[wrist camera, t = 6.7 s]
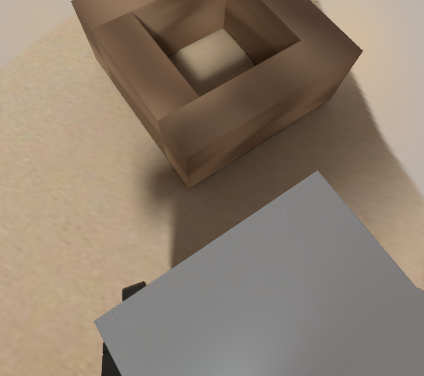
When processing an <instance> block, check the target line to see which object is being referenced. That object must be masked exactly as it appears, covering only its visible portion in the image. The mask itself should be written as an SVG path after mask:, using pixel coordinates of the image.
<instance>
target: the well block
mask: <svg viewBox="0 0 424 376" xmlns="http://www.w3.org/2000/svg"><path fill="white" fill-rule="evenodd" d="M71 2H72V5H73V7H74V9H75V11H76V14H77V16H78V18H79V20H80V23H81V25H82V27H83V30H84V32H85V34H86V36H87V39H88V41H89V43H90V45H91V48H92V50H93V52H94V54H95V57H96V59H97V60H98V62H99V63H100V65H101V66H102V67H103V69H104V70H105V72H106V73H107V75H108V76H109V77H110V79H111V80H112V82H113V83H114V84H115V86H116V87H117V89H118V90H119V92H120V93H121V94H122V96H123V97H124V99H125V100H126V101H127V103H128V104H129V106H130V107H131V108H132V110H133V111H134V113H135V114H136V116H137V117H138V118H139V120H140V121H141V123H142V124H143V125H144V127H145V128H146V130H147V131H148V132H149V134H150V135H151V137H152V138H153V140H154V141H155V142H156V144H157V145H158V147H159V148H160V149H161V151H162V152H163V154H164V155H165V156H166V158H167V159H168V161H169V162H170V164H171V165H172V166H173V168H174V169H175V171H176V172H177V173H178V175H179V176H180V178H181V179H182V181H183V182H184V183H185V185H186V186H187V188H188V189H190V188H191V187H193V186H194V185H196V184H198V183H199V182H201V181H202V180H204V179H205V178H207V177H209V176H210V175H212V174H213V173H215V172H216V171H218V170H220V169H221V168H223V167H224V166H226V165H227V164H229V163H231V162H232V161H234V160H235V159H237V158H239V157H240V156H242V155H243V154H245V153H246V152H248V151H250V150H251V149H253V148H254V147H256V146H257V145H259V144H261V143H262V142H264V141H265V140H267V139H268V138H270V137H272V136H273V135H275V134H276V133H278V132H279V131H281V130H283V129H284V128H286V127H287V126H289V125H290V124H292V123H294V122H295V121H297V120H298V119H300V118H301V117H303V116H305V115H306V114H308V113H309V112H311V111H312V110H314V109H316V108H317V107H319V106H320V105H322V104H323V103H325V102H327V101H328V100H330V98H331V97H332V96H333V94H334V93H335V91H336V90H337V88H338V87H339V85H340V84H341V82H342V81H343V79H344V78H345V77H346V75H347V74H348V72H349V71H350V69H351V68H352V66H353V65H354V63H355V62H356V60H357V59H358V57H359V56H360V55H361V53H362V50H361V49H360V48H359V47H358V46H357V45H356V44H355V43H354V42H353V41H352V40H351V39H350V38H349V37H348V36H347V35H346V34H345V33H344V32H343V31H342V30H340V29H339V28H338V27H337V26H336V25H335V24H334V23H333V22H332V21H331V20H330V19H329V18H328V17H327V16H326V15H325V14H324V13H323V12H322V11H321V10H320V9H318V8H317V7H316V6H315V5H314V4H313V3H312V2H311V1H310V0H73V1H71ZM223 27H224V29H225V30H226V31H227V32H228V33H229V34H230V35H231V36H232V37H233V39H234V40H235V41H236V42H237V43H238V44H239V45H240V46H241V47H242V49H243V50H244V51H245V52H246V53H247V54H248V55H249V56H250V57H251V59H252V60H253V61H254V62H255V63H256V64H257V65H256V66H255V67H253V68H251V69H249V70H247V71H246V72H244V73H242V74H240V75H239V76H237V77H235V78H233V79H231V80H230V81H228V82H226V83H224V84H222V85H221V86H219V87H217V88H215V89H213V90H212V91H210V92H208V93H206V94H205V95H203V96H201V97H199V96H198V95H197V94H196V92H195V91H194V90H193V89H192V87H191V86H190V85H189V84H188V82H187V81H186V80H185V79H184V77H183V76H182V75H181V74H180V72H179V71H178V70H177V69H176V67H175V66H174V65H173V63H172V62H171V61H170V60H169V58H168V57H167V56H168V55H170V54H172V53H174V52H176V51H178V50H180V49H182V48H184V47H186V46H188V45H190V44H192V43H194V42H195V41H197V40H199V39H201V38H203V37H205V36H207V35H209V34H211V33H213V32H215V31H217V30H219V29H221V28H223Z"/></svg>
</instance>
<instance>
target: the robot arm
mask: <svg viewBox="0 0 424 376" xmlns="http://www.w3.org/2000/svg"><path fill="white" fill-rule="evenodd" d="M145 286H147V285H146V283H145V282H144V281H143V282H140V283H137V284H134V285H132V286H129V287H126V288H123V290H122V302H123V301H125V300H126V299H128V298H129V297H131V296H132V295H134V294H135V293H136V292H138V291H139V290H141V289H142V288H144V287H145ZM416 288H417V287H416ZM417 289H418V290H419V291H420V292H421V294H422V295H423V296H424V291H423V290H421V289H419V288H417ZM101 376H122V375H121V373H120V371H119V369H118V367H117V365H116V364H115V362H114V360H113V358H112V356H111V354H110V352H109V350H108V348H107V346H106V344H105V342H103V356H102V375H101Z"/></svg>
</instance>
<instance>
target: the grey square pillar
mask: <svg viewBox="0 0 424 376" xmlns="http://www.w3.org/2000/svg"><path fill="white" fill-rule="evenodd" d="M94 323H95V324H96V326H97V328H98V330H99V332H100V334H101V336H102V338H103V340H104V342H105V344H106V346H107V348H108V350H109V352H110V354H111V356H112V358H113V360H114V362H115V364H116V365H117V367H118V369H119V371H120V373H121V375H122V376H424V296H423V295H422V294H421V292H420V291H419V290H418V289H417V288H416V286H415V285H414V284H413V283H412V282H411V280H410V279H409V278H408V277H407V276H406V275H405V273H404V272H403V271H402V270H401V269H400V267H399V266H398V265H397V264H396V263H395V261H394V260H393V259H392V258H391V257H390V256H389V254H388V253H387V252H386V251H385V250H384V248H383V247H382V246H381V245H380V244H379V242H378V241H377V240H376V239H375V238H374V237H373V235H372V234H371V233H370V232H369V231H368V229H367V228H366V227H365V226H364V225H363V223H362V222H361V221H360V220H359V219H358V218H357V216H356V215H355V214H354V213H353V212H352V210H351V209H350V208H349V207H348V206H347V204H346V203H345V202H344V201H343V200H342V199H341V197H340V196H339V195H338V194H337V193H336V191H335V190H334V189H333V188H332V187H331V185H330V184H329V183H328V182H327V181H326V180H325V178H324V177H323V176H322V175H321V174H320V172H319V171H318V170H317V171H316V172H314V173H313V174H311V175H310V176H308V177H307V178H305V179H304V180H302V181H301V182H299V183H298V184H297V185H295V186H294V187H292V188H291V189H289V190H288V191H286V192H285V193H283V194H282V195H280V196H279V197H277V198H276V199H274V200H273V201H271V202H270V203H268V204H267V205H265V206H264V207H262V208H261V209H259V210H258V211H257V212H255V213H254V214H252V215H251V216H249V217H248V218H246V219H245V220H243V221H242V222H240V223H239V224H237V225H236V226H234V227H233V228H231V229H230V230H228V231H227V232H225V233H224V234H222V235H221V236H219V237H218V238H216V239H215V240H214V241H212V242H211V243H209V244H208V245H206V246H205V247H203V248H202V249H200V250H199V251H197V252H196V253H194V254H193V255H191V256H190V257H188V258H187V259H185V260H184V261H182V262H181V263H179V264H178V265H176V266H175V267H174V268H172V269H171V270H169V271H168V272H166V273H165V274H163V275H162V276H160V277H159V278H157V279H156V280H154V281H153V282H151V283H150V284H148V285H147V286H145V287H144V288H142V289H141V290H139V291H138V292H136V293H135V294H134V295H132V296H131V297H129V298H128V299H126V300H125V301H123V302H122V303H120V304H119V305H117V306H116V307H114V308H113V309H111V310H110V311H108V312H107V313H105V314H104V315H102V316H101V317H99V318H98V319H96V320H95V321H94Z"/></svg>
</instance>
